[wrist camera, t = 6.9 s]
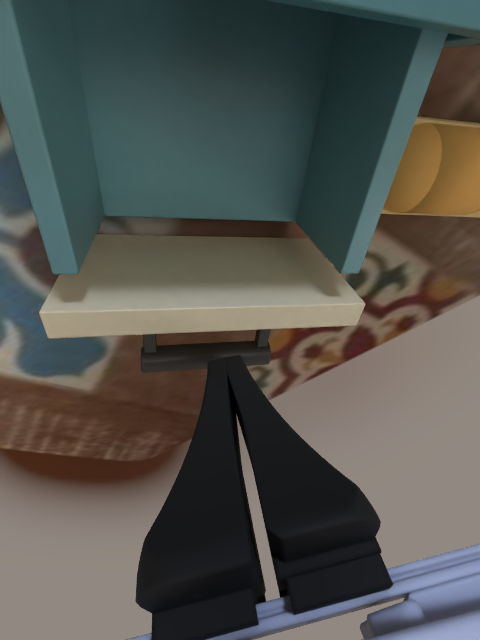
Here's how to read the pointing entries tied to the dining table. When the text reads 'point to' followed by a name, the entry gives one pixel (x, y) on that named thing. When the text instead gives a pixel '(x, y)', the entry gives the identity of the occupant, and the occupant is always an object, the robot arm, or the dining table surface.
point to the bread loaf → (438, 171)
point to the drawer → (206, 159)
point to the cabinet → (412, 15)
